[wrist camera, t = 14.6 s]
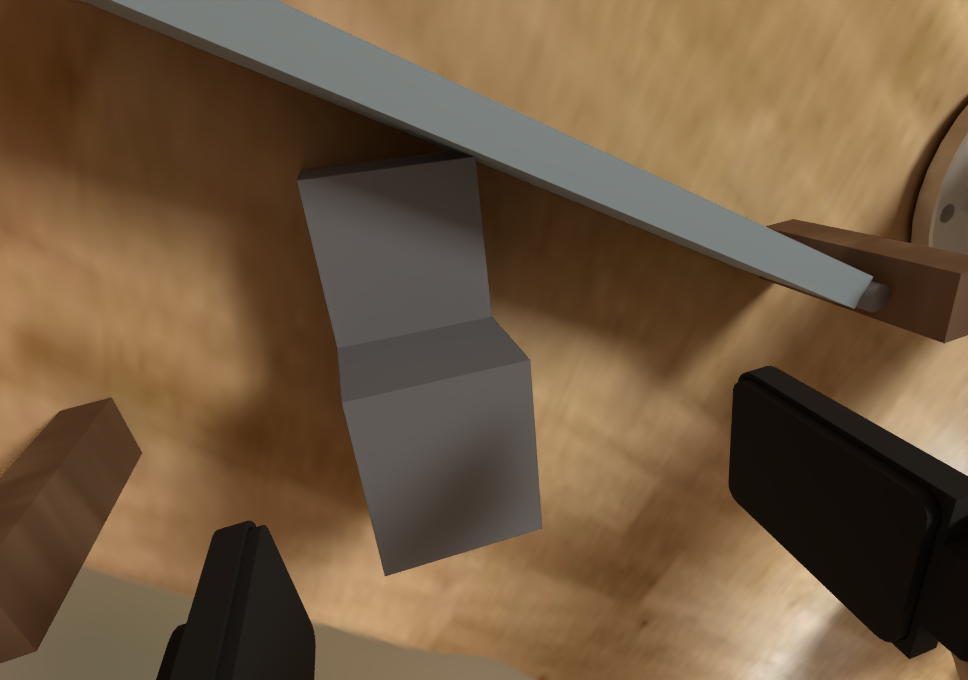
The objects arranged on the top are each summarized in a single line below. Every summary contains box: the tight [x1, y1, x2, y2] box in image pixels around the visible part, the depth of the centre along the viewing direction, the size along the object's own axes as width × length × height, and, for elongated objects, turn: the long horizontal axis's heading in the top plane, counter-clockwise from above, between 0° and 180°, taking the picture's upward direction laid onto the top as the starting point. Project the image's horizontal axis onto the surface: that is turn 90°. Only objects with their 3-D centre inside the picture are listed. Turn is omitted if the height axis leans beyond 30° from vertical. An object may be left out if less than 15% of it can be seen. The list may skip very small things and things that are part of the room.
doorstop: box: [297, 151, 542, 576], centre depth 17 cm, size 5×11×7 cm, turn 6°
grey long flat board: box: [81, 0, 890, 312], centre depth 16 cm, size 26×1×6 cm, turn 68°
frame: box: [0, 219, 968, 663], centre depth 17 cm, size 30×2×8 cm, turn 99°
